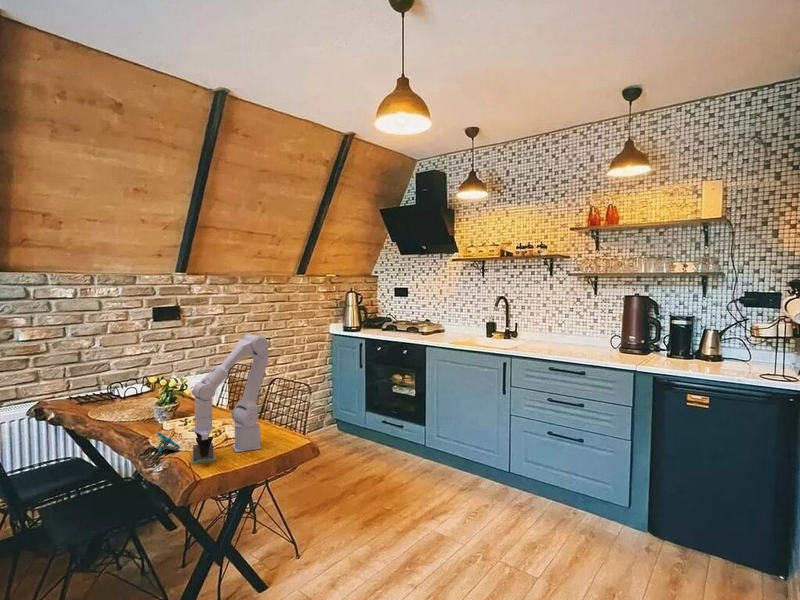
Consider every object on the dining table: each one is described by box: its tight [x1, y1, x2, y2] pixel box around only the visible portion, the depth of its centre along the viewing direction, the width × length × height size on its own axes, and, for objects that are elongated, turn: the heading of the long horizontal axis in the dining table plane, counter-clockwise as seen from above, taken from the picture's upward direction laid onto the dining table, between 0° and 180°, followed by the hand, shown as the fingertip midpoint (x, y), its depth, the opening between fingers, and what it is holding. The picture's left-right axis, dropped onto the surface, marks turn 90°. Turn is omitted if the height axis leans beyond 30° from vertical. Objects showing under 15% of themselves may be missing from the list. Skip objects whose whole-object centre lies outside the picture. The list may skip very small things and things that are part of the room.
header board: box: [190, 452, 217, 466], centre depth 167 cm, size 8×6×3 cm
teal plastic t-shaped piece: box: [156, 432, 181, 454], centre depth 174 cm, size 11×6×10 cm
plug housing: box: [192, 441, 214, 461], centre depth 167 cm, size 7×4×4 cm, turn 116°
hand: (203, 452), depth 167 cm, fingers open, 7 cm apart
